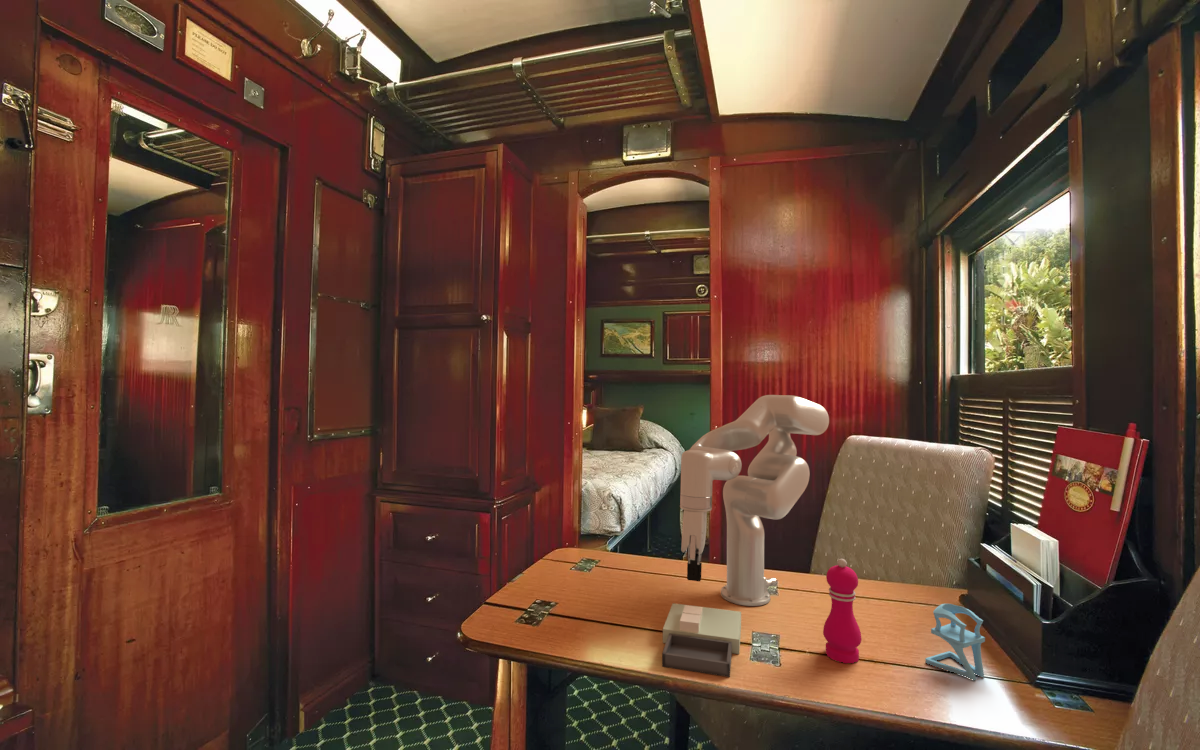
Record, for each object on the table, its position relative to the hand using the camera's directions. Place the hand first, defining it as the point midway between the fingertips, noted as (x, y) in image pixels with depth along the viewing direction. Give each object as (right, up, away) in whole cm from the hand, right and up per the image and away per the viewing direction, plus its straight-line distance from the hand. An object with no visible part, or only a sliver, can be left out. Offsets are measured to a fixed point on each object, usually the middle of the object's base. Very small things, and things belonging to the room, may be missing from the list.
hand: (694, 579), depth 127 cm
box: (-3, -9, -19) cm, 21 cm away
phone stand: (+48, -10, -22) cm, 54 cm away
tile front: (-3, -6, -11) cm, 13 cm away
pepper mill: (+27, -9, -17) cm, 34 cm away
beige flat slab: (+1, -9, -8) cm, 12 cm away
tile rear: (-2, -6, -7) cm, 9 cm away
